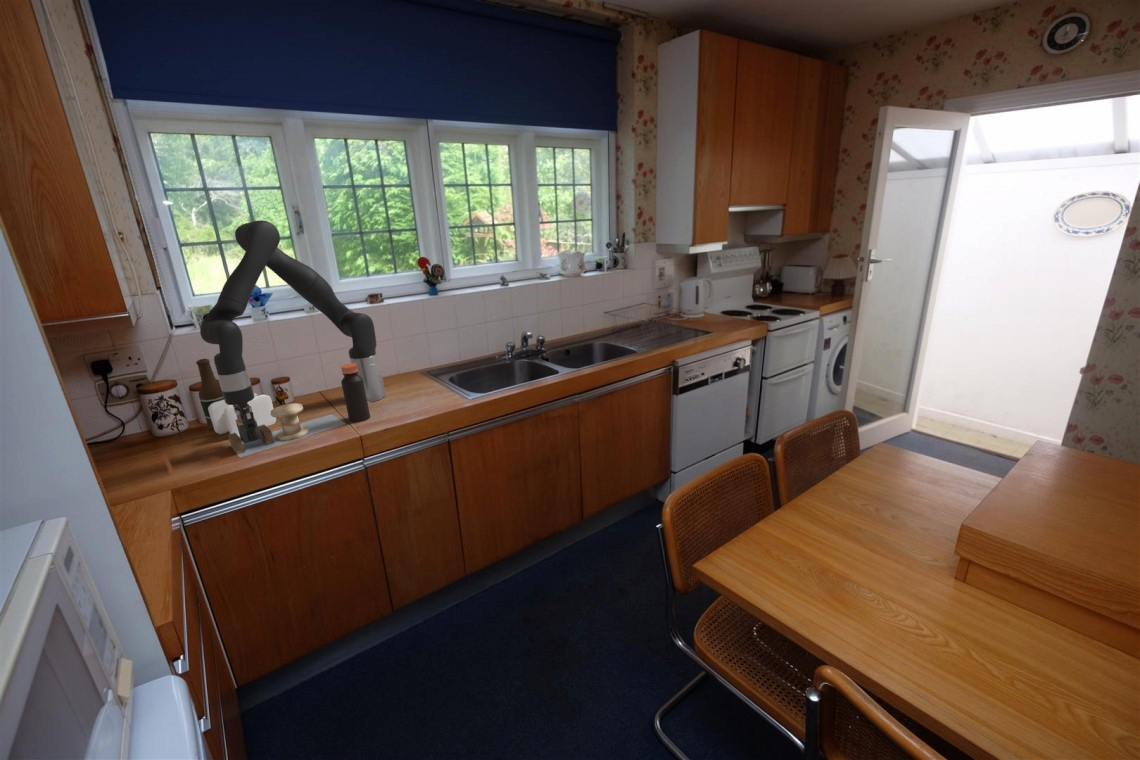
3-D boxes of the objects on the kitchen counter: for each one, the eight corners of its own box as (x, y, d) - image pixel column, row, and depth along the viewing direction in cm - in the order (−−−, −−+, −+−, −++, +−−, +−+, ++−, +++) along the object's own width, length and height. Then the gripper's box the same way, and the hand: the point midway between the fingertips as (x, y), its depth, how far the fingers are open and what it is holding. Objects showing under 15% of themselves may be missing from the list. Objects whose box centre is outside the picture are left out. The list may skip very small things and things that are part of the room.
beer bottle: (220, 421, 176) (200, 356, 168) (240, 421, 175) (221, 356, 167) (203, 431, 169) (181, 363, 161) (225, 430, 168) (204, 362, 160)
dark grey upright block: (257, 434, 156) (251, 415, 154) (261, 438, 153) (255, 419, 151) (241, 439, 153) (235, 420, 151) (244, 443, 150) (238, 423, 148)
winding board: (332, 416, 175) (332, 414, 175) (346, 426, 166) (346, 423, 166) (230, 447, 155) (229, 444, 154) (240, 460, 146) (239, 457, 146)
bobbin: (303, 426, 165) (297, 401, 162) (312, 433, 159) (306, 407, 156) (273, 435, 159) (266, 409, 157) (282, 443, 153) (275, 416, 150)
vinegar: (371, 415, 174) (361, 361, 167) (370, 423, 168) (358, 367, 161) (351, 419, 172) (339, 364, 166) (348, 426, 166) (336, 369, 159)
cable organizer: (232, 442, 158) (221, 409, 154) (215, 436, 164) (205, 404, 160) (278, 425, 170) (270, 393, 166) (261, 419, 176) (253, 389, 172)
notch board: (267, 435, 160) (264, 424, 158) (274, 442, 154) (271, 431, 153) (231, 446, 153) (227, 434, 152) (237, 454, 148) (233, 442, 146)
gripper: (256, 387, 145) (271, 440, 150) (244, 378, 155) (258, 428, 160) (226, 395, 140) (242, 449, 146) (216, 384, 150) (231, 436, 155)
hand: (251, 438), depth 153 cm, fingers closed on dark grey upright block, 4 cm apart
